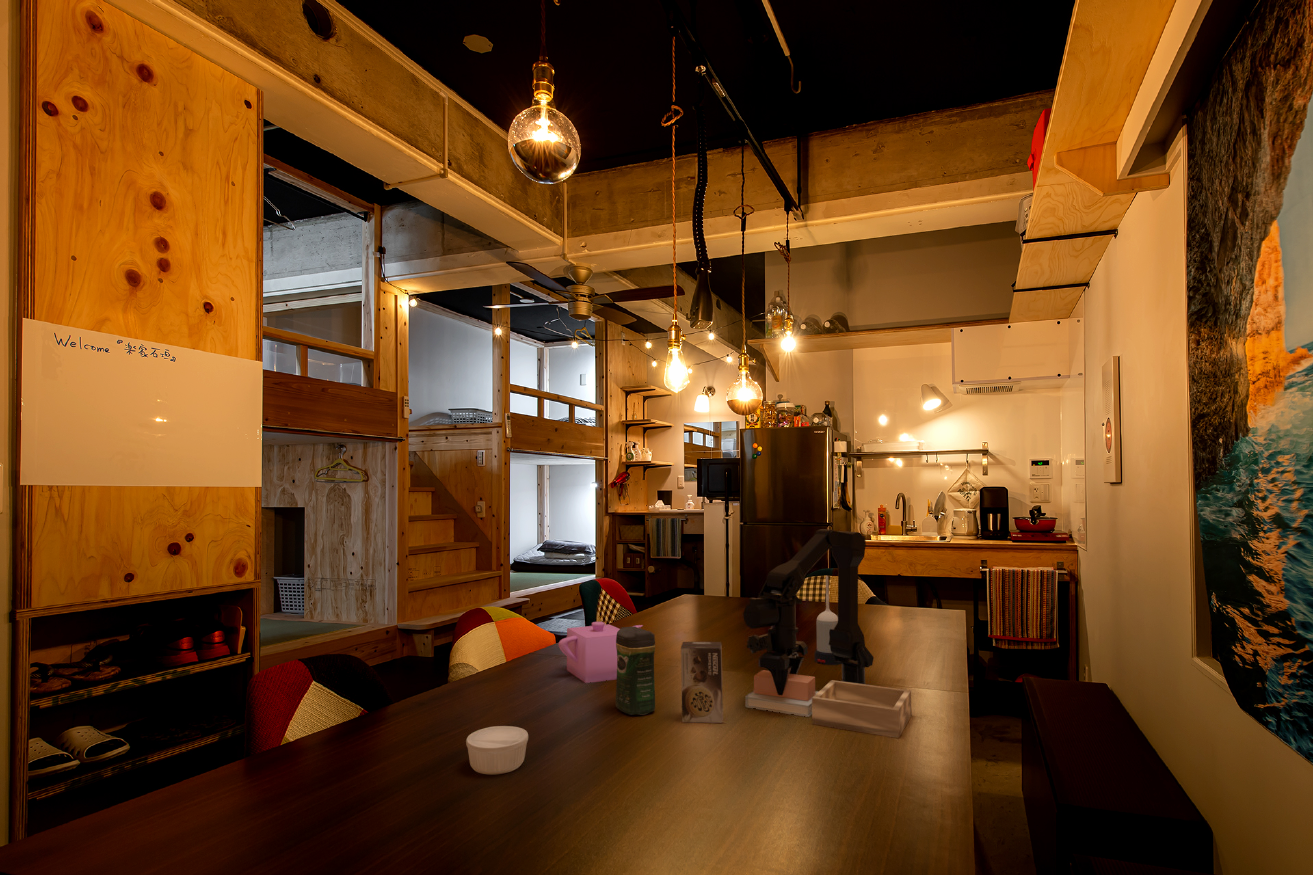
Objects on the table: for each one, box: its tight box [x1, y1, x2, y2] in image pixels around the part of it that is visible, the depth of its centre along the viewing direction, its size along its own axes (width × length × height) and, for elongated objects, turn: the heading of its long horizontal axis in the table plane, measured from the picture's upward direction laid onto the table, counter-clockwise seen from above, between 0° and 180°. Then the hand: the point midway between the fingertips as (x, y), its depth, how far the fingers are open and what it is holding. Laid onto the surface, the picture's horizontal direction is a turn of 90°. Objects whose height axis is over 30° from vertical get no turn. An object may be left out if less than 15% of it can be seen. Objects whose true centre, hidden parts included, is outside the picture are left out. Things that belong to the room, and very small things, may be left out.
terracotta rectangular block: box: [753, 669, 816, 701], centre depth 164 cm, size 6×13×4 cm, turn 61°
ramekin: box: [465, 725, 529, 775], centre depth 128 cm, size 11×11×5 cm
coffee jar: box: [615, 625, 656, 716], centre depth 161 cm, size 10×8×19 cm
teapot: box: [558, 621, 644, 684], centre depth 193 cm, size 15×25×14 cm, turn 116°
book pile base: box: [744, 690, 819, 718], centre depth 164 cm, size 12×15×2 cm
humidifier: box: [814, 575, 842, 666], centre depth 206 cm, size 8×8×25 cm
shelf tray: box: [811, 679, 913, 739], centre depth 153 cm, size 16×18×6 cm
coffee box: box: [680, 641, 724, 724], centre depth 155 cm, size 9×6×16 cm
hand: (784, 691), depth 164 cm, fingers closed on terracotta rectangular block, 6 cm apart
